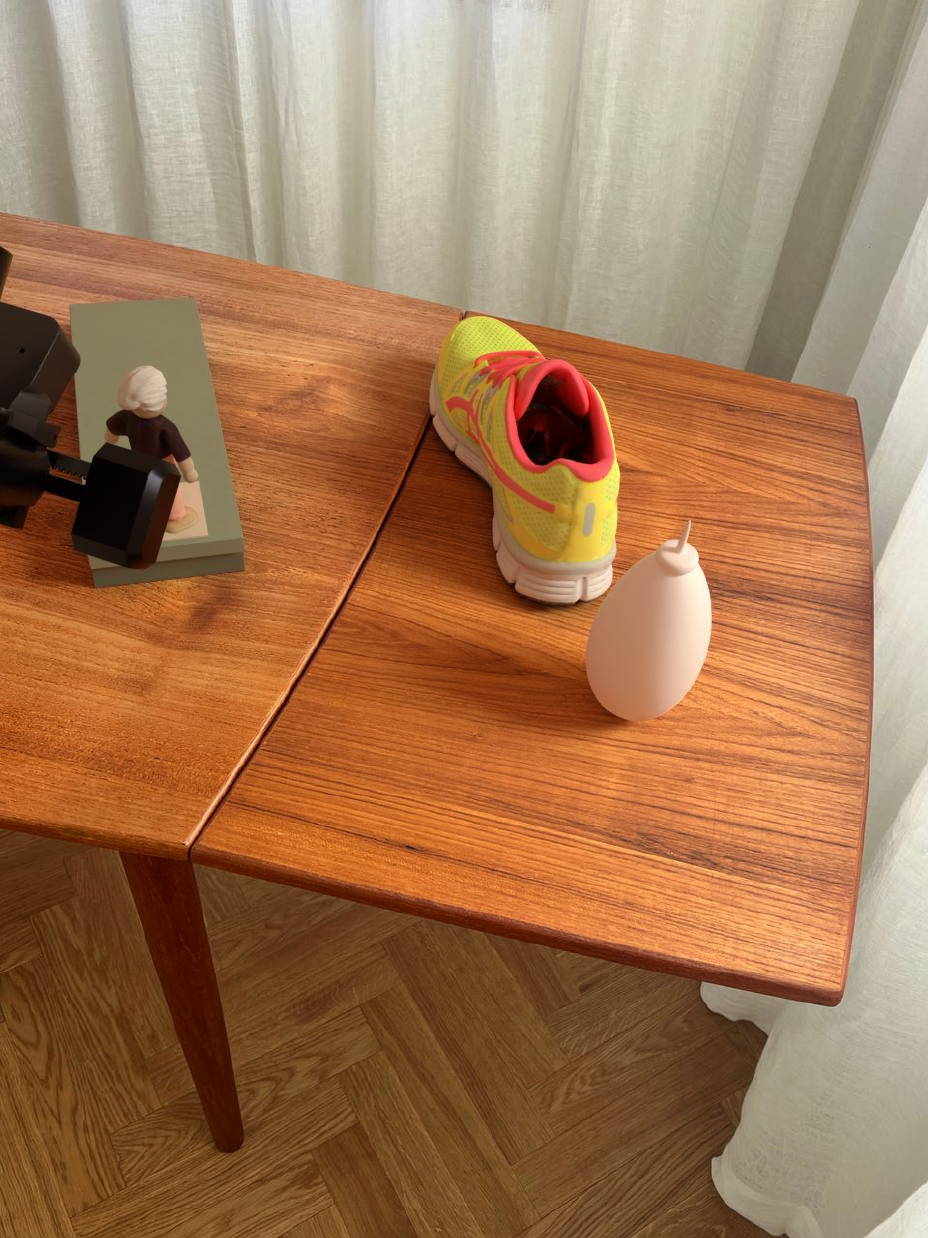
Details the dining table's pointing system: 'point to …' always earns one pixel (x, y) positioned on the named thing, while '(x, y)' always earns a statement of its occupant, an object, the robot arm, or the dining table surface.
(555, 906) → the dining table surface
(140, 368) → the grandmother figurine
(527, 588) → the running shoe
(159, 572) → the olive green stone
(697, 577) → the white bulb air blower
